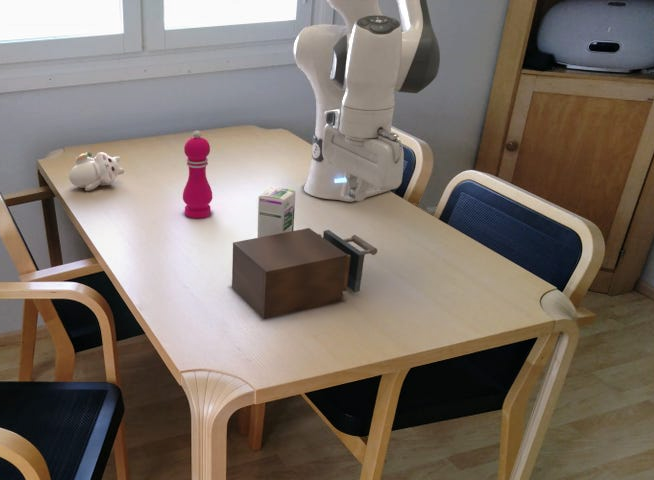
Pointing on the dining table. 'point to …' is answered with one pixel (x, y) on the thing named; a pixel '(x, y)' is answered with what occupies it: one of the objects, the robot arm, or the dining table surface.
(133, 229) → the dining table surface
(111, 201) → the dining table surface
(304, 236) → the cabinet
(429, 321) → the dining table surface
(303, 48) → the robot arm
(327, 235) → the drawer
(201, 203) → the pepper mill
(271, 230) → the syrup box
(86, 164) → the cat figurine
